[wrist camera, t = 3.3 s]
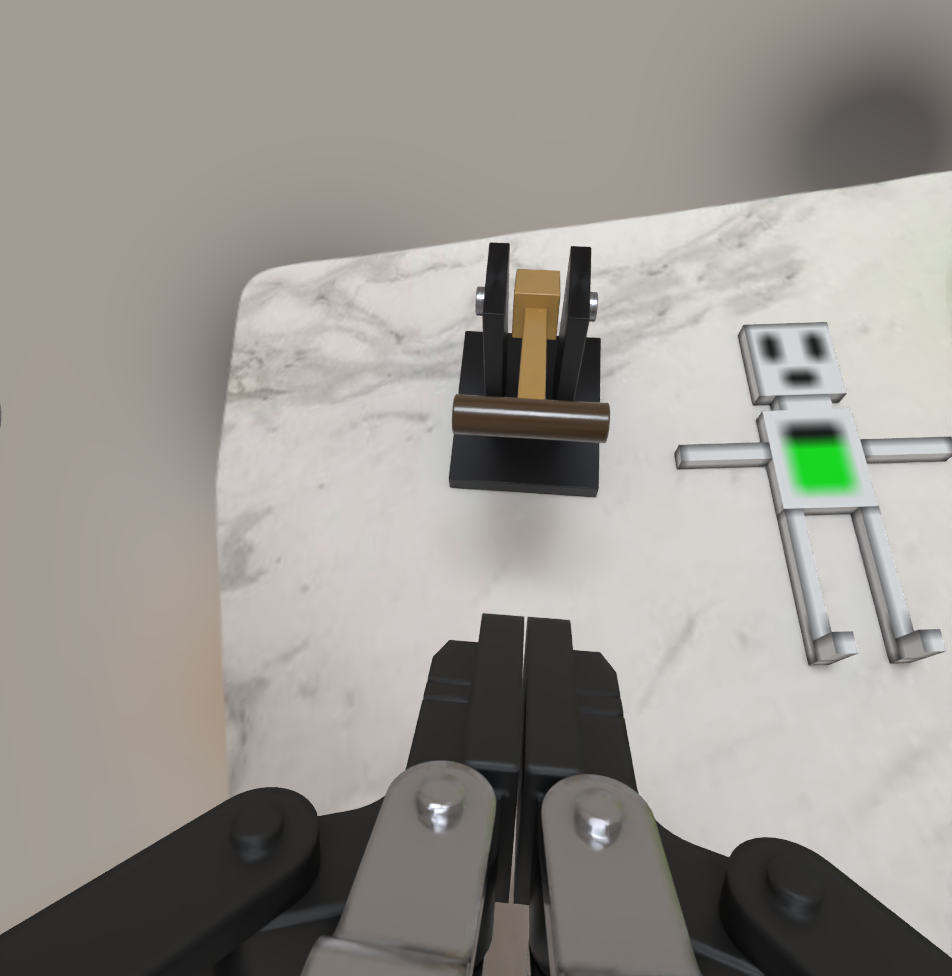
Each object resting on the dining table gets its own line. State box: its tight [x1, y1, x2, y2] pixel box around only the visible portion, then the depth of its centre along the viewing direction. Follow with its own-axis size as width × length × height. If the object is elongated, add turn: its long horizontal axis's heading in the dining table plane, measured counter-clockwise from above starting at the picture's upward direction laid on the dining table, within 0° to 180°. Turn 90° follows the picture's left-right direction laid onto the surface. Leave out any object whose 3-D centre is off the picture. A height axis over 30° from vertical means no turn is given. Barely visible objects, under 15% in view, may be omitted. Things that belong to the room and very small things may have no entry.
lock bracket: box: [449, 243, 601, 497], centre depth 39 cm, size 11×9×13 cm
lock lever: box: [452, 269, 610, 443], centre depth 31 cm, size 12×6×2 cm, turn 175°
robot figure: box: [675, 322, 952, 665], centre depth 40 cm, size 16×3×22 cm
